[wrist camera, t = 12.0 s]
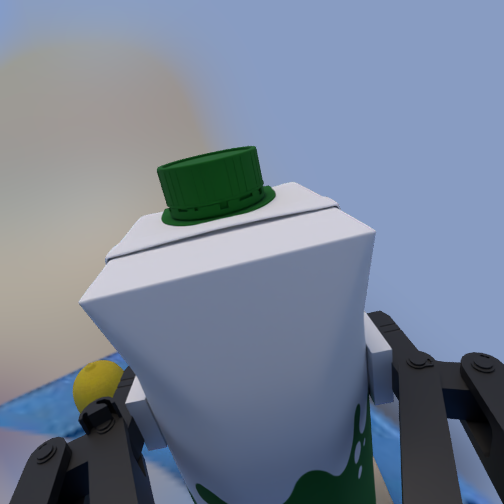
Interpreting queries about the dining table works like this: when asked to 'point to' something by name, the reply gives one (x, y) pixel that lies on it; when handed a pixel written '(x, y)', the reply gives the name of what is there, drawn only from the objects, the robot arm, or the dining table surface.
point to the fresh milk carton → (247, 333)
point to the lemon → (96, 382)
